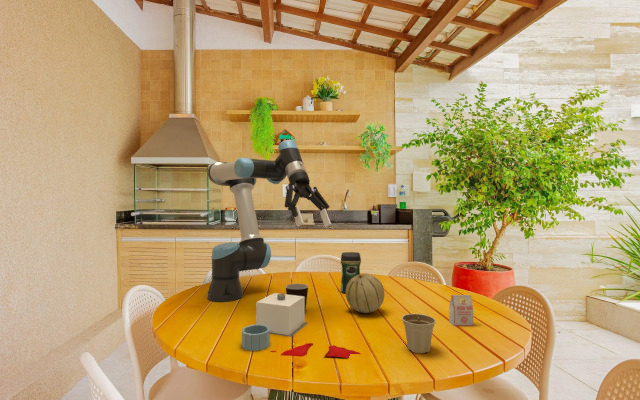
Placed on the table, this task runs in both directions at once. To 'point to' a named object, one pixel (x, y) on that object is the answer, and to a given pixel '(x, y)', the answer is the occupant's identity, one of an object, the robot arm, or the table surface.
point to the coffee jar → (349, 267)
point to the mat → (294, 331)
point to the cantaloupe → (365, 293)
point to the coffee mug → (297, 290)
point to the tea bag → (461, 310)
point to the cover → (281, 313)
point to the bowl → (255, 337)
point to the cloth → (332, 351)
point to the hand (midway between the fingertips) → (314, 225)
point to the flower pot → (418, 332)
